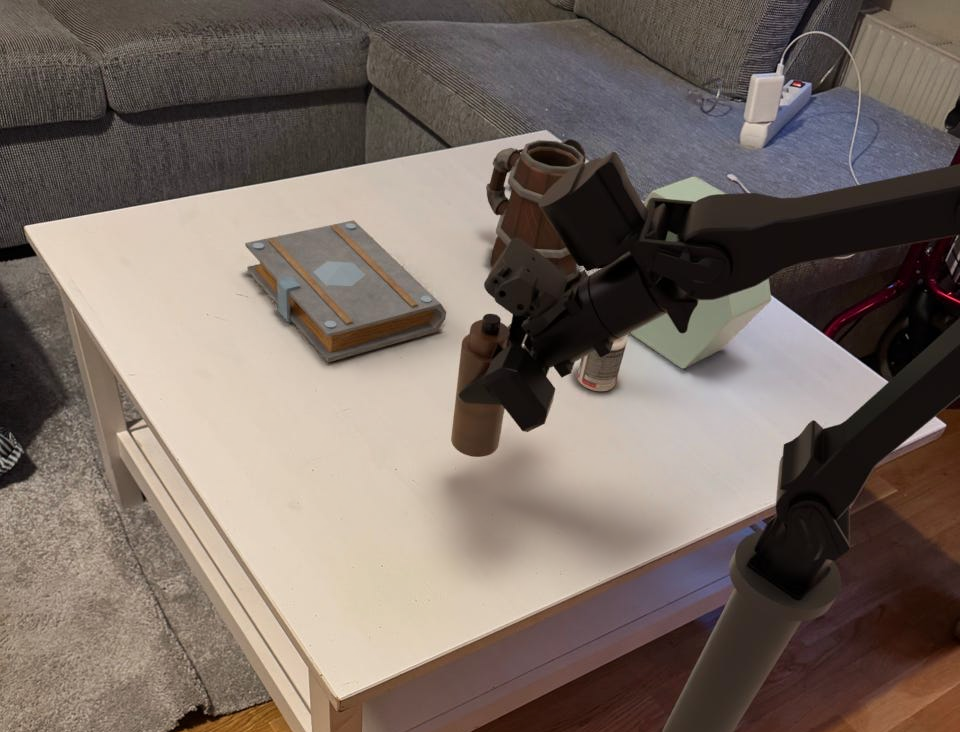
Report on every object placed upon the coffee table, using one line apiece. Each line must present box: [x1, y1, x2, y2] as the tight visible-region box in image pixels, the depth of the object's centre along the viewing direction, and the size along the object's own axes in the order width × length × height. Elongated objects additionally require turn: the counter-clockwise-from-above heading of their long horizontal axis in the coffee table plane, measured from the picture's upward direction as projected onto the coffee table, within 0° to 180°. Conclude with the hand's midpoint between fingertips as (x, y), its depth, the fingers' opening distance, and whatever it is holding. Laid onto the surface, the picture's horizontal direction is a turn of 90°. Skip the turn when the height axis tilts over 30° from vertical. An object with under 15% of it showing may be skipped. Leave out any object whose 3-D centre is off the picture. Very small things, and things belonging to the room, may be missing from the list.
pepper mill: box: [450, 313, 513, 458], centre depth 86 cm, size 5×5×14 cm
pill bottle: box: [577, 335, 628, 392], centre depth 107 cm, size 5×5×8 cm
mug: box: [485, 139, 586, 276], centre depth 120 cm, size 16×12×15 cm
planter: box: [621, 175, 772, 370], centre depth 111 cm, size 17×8×21 cm
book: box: [244, 219, 447, 363], centre depth 112 cm, size 21×16×5 cm
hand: (468, 382), depth 86 cm, fingers closed on pepper mill, 5 cm apart
